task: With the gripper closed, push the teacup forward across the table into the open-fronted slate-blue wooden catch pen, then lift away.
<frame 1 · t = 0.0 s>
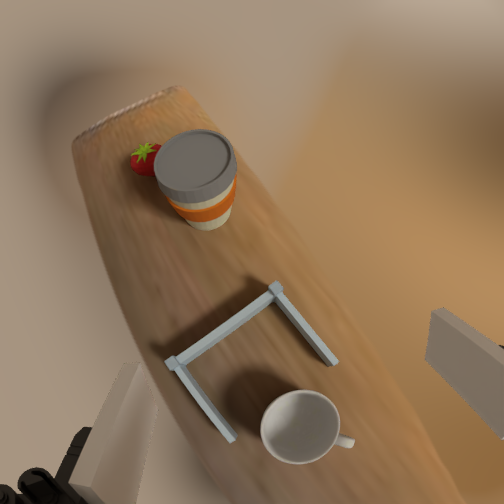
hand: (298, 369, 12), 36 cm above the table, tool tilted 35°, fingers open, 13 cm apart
strawberry: (156, 175, 60), on the table
catch pen: (256, 368, 45), on the table
teacup: (302, 424, 42), on the table
reusable coffee cup: (207, 209, 57), on the table
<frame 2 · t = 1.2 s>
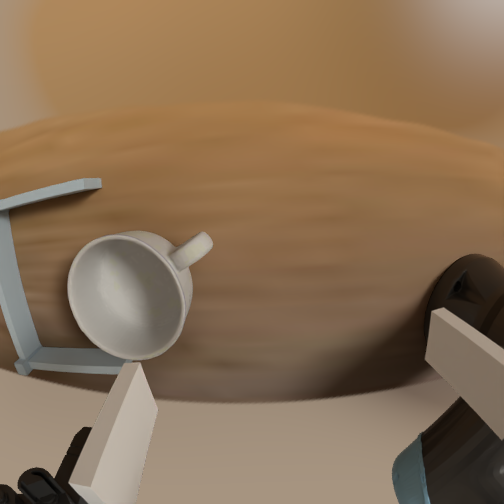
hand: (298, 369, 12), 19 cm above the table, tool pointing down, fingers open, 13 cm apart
catch pen: (62, 278, 30), on the table
teacup: (159, 268, 30), on the table
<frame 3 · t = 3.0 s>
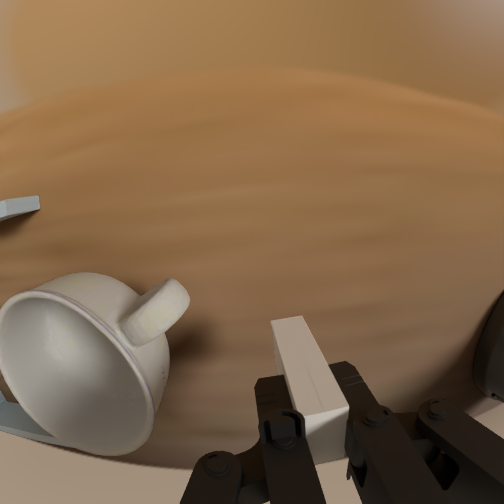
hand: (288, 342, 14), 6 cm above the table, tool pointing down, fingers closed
catch pen: (11, 327, 20), on the table
teacup: (124, 319, 20), on the table
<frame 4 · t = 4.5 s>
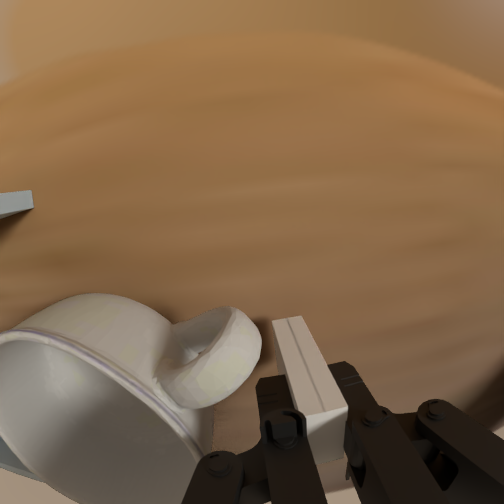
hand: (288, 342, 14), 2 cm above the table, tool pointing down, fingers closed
catch pen: (4, 354, 15), on the table
teacup: (147, 348, 16), on the table, touching gripper
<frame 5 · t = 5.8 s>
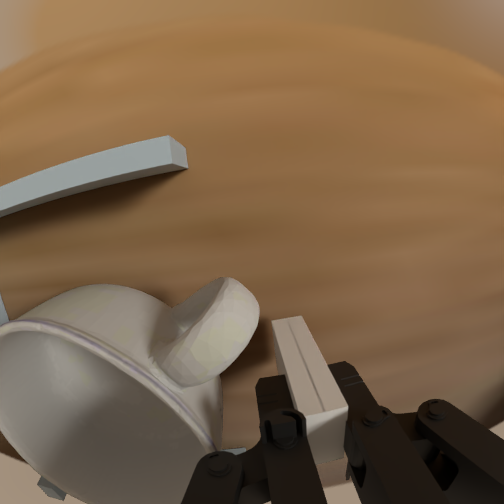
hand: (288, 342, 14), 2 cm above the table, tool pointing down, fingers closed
catch pen: (103, 352, 16), on the table
teacup: (150, 339, 16), on the table, touching gripper
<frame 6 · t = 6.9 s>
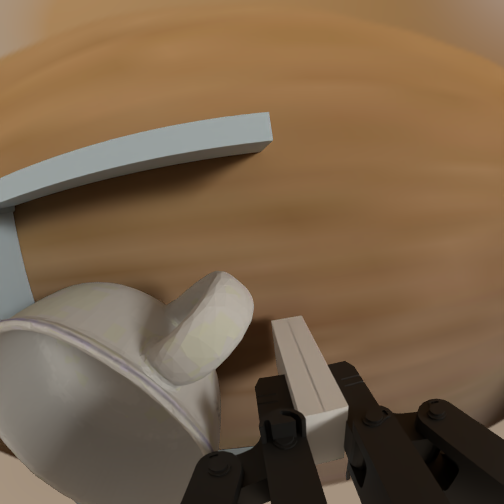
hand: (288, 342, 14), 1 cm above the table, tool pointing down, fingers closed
catch pen: (152, 346, 15), on the table
teacup: (147, 338, 15), on the table, touching gripper
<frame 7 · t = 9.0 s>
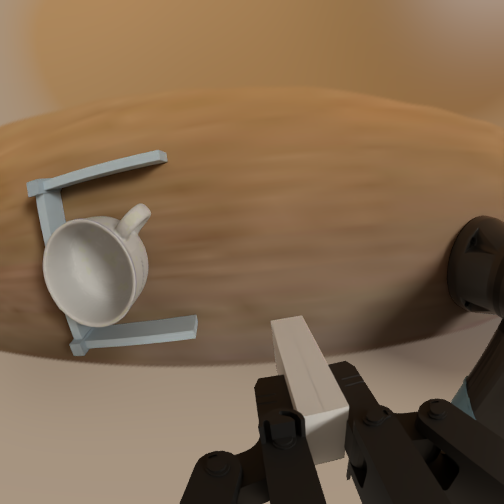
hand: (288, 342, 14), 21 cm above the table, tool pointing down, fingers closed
catch pen: (123, 251, 33), on the table
teacup: (121, 248, 33), on the table
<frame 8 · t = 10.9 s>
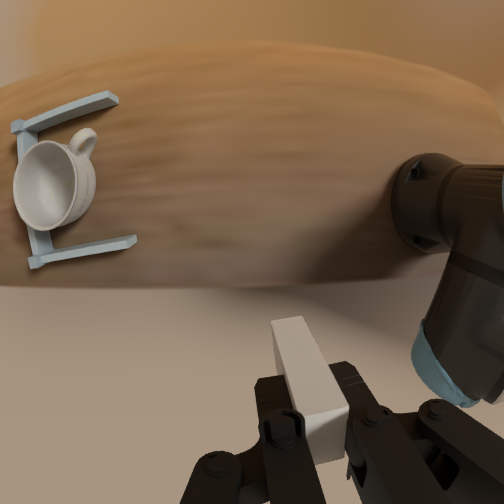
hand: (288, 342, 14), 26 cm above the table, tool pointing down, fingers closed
catch pen: (80, 178, 36), on the table
teacup: (79, 176, 36), on the table
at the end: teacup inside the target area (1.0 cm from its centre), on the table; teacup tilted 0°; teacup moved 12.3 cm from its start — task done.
